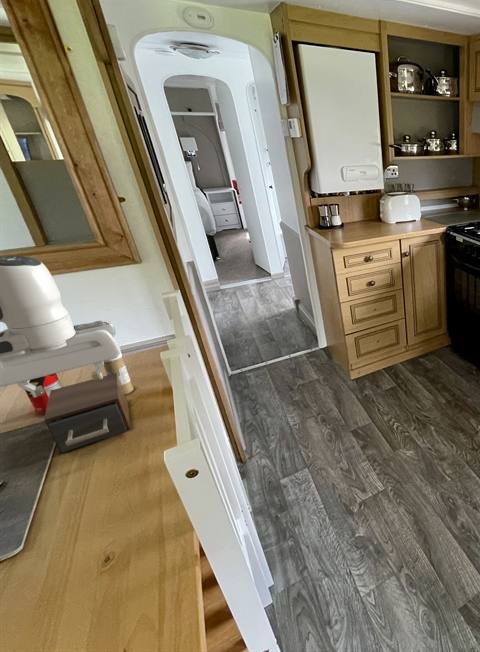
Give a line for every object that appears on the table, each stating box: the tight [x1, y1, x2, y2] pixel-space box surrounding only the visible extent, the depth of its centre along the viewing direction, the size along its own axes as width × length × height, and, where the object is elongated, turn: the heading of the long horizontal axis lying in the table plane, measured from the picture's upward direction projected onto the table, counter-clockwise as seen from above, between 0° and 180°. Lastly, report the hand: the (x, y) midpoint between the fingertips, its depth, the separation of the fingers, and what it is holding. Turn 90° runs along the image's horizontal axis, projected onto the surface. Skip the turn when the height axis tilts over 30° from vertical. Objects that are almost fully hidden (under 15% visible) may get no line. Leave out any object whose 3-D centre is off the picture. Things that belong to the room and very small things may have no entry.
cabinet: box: [43, 373, 131, 454], centre depth 97 cm, size 15×13×10 cm
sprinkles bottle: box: [103, 352, 134, 395], centre depth 109 cm, size 5×5×14 cm
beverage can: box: [24, 373, 63, 415], centre depth 102 cm, size 6×6×12 cm
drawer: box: [49, 402, 127, 453], centre depth 93 cm, size 19×12×8 cm, turn 42°
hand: (70, 386), depth 84 cm, fingers open, 8 cm apart
